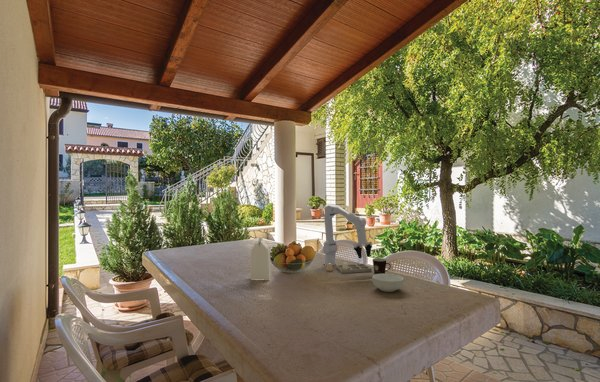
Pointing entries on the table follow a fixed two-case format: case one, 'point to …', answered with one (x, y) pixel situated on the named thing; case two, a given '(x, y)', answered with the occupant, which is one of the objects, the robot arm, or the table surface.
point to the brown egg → (329, 267)
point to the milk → (260, 261)
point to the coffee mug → (380, 265)
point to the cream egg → (345, 266)
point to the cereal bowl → (387, 282)
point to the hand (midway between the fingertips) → (364, 257)
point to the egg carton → (354, 268)
